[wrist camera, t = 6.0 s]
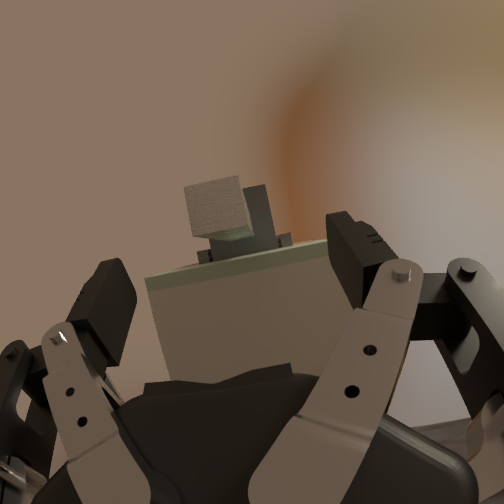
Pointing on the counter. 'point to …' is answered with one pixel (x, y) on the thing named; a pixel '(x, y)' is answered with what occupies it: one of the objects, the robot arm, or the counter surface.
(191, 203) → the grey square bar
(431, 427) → the counter surface
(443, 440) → the counter surface
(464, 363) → the robot arm
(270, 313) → the cabinet
